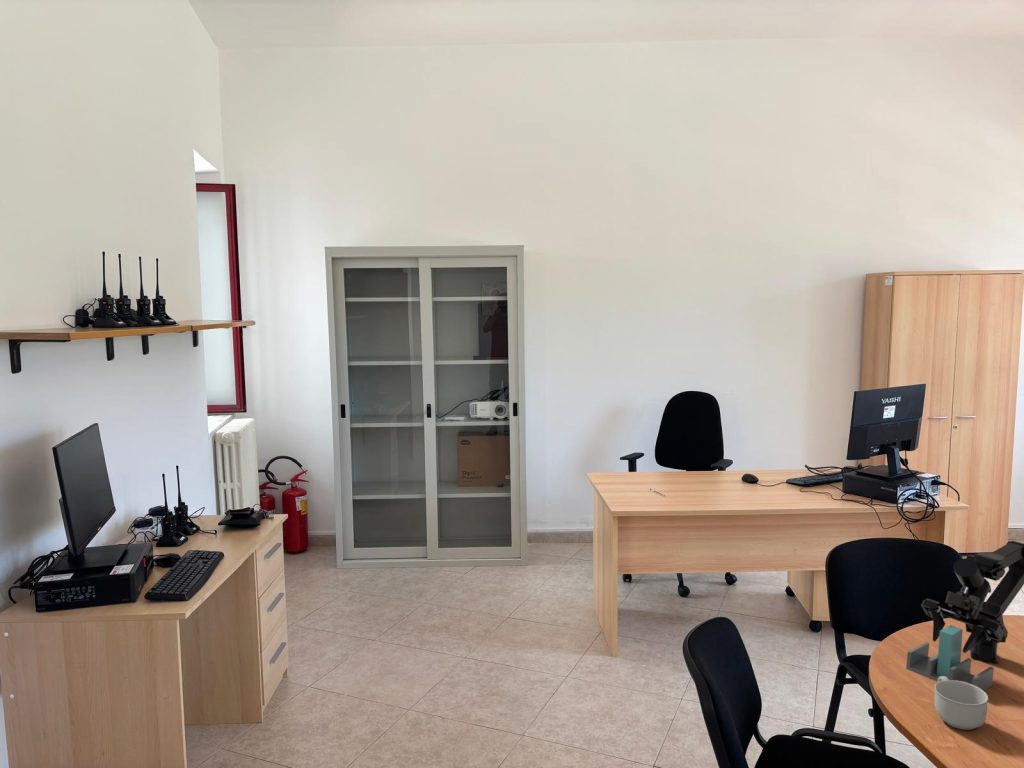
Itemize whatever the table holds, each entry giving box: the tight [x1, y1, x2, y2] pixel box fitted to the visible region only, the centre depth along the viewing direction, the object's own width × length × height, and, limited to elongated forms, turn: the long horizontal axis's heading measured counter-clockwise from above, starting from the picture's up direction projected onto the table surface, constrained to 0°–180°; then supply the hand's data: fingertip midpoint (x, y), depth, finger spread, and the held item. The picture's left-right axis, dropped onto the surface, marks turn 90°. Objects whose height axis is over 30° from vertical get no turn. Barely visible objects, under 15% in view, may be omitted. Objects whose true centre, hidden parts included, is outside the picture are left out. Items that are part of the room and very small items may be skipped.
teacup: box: [933, 676, 989, 731], centre depth 175 cm, size 14×11×8 cm
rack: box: [905, 641, 995, 692], centre depth 195 cm, size 10×17×5 cm, turn 35°
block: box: [937, 625, 964, 679], centre depth 195 cm, size 6×3×12 cm, turn 125°
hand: (948, 646), depth 194 cm, fingers open, 7 cm apart
